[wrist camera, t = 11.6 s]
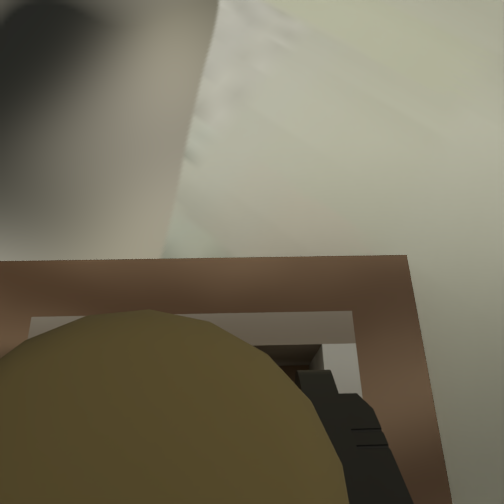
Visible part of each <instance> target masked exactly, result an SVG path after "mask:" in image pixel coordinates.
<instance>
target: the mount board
mask: <svg viewBox="0 0 504 504" xmlns="http://www.w3.org/2000/svg"><path fill="white" fill-rule="evenodd" d="M147 309H150V310H155V311H160V312H165V313H170V314H175V315H180V316H185V317H190V318H194V319H199V320H204V321H209V322H211V323H213V324H215V325H217V326H218V327H220V328H222V329H224V330H226V331H227V332H229V333H231V334H233V335H234V336H236V337H238V338H240V339H241V340H243V341H245V342H247V343H249V344H250V345H252V346H254V347H256V348H257V349H259V350H261V351H263V352H264V353H266V354H268V355H269V356H270V357H271V358H272V360H273V361H274V362H275V363H276V364H277V365H278V366H279V367H280V368H281V369H282V370H283V371H284V373H285V374H286V375H287V376H288V377H289V378H290V379H291V380H292V381H293V382H294V383H295V373H296V370H331V372H332V375H333V378H334V381H335V384H336V387H337V390H338V393H357V394H358V395H359V396H360V397H361V398H362V399H363V400H365V401H366V402H367V403H368V404H369V405H370V406H371V407H372V408H373V409H374V411H375V414H376V416H377V418H378V421H379V423H380V426H381V428H382V432H383V433H384V435H385V437H386V440H387V442H388V446H389V449H391V451H392V454H393V456H394V458H395V461H396V463H397V465H398V468H399V470H400V472H401V475H402V477H403V479H404V482H405V484H406V486H407V489H408V491H409V493H410V496H411V498H412V500H413V503H414V504H452V498H451V493H450V488H449V482H448V477H447V471H446V466H445V460H444V455H443V450H442V444H441V439H440V433H439V428H438V423H437V417H436V412H435V406H434V401H433V395H432V390H431V385H430V379H429V374H428V368H427V363H426V358H425V352H424V347H423V341H422V336H421V330H420V325H419V320H418V314H417V309H416V303H415V298H414V292H413V287H412V282H411V276H410V271H409V265H408V260H407V255H379V256H314V257H249V258H184V259H122V260H119V259H118V260H55V261H0V358H2V357H3V356H5V355H6V354H7V353H9V352H10V351H11V350H13V349H14V348H15V347H17V346H18V345H19V344H21V343H22V342H23V341H25V340H27V339H30V338H32V337H35V336H37V335H40V334H42V333H45V332H47V331H50V330H52V329H55V328H57V327H60V326H62V325H65V324H67V323H70V322H72V321H75V320H77V319H80V318H82V317H85V316H87V315H97V314H107V313H117V312H127V311H137V310H147Z"/></svg>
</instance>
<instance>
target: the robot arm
mask: <svg viewBox="0 0 504 504" xmlns="http://www.w3.org/2000/svg"><path fill="white" fill-rule="evenodd" d="M295 384H296V385H297V387H298V388H299V389H300V390H301V391H302V392H303V393H304V394H305V395H306V396H307V397H308V398H309V399H310V401H311V402H312V404H313V406H314V408H315V410H316V412H317V414H318V416H319V418H320V420H321V422H322V424H323V426H324V428H325V431H326V433H327V435H328V437H329V439H330V441H331V443H332V445H333V447H334V449H335V451H336V453H337V455H338V457H339V459H340V461H341V463H342V466H343V471H344V477H345V483H346V488H347V494H348V499H349V504H414V503H413V500H412V498H411V496H410V493H409V491H408V489H407V486H406V484H405V482H404V479H403V477H402V475H401V472H400V470H399V468H398V465H397V463H396V461H395V458H394V456H393V454H392V451H391V449H389V446H388V442H387V440H386V437H385V435H384V433H383V432H382V428H381V426H380V423H379V421H378V418H377V416H376V414H375V411H374V409H373V408H372V407H371V406H370V405H369V404H368V403H367V402H366V401H365V400H363V399H362V398H361V397H360V396H359V395H358V394H357V393H338V390H337V387H336V384H335V381H334V378H333V375H332V372H331V370H296V373H295Z"/></svg>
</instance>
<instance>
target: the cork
mask: <svg viewBox="0 0 504 504" xmlns="http://www.w3.org/2000/svg"><path fill="white" fill-rule="evenodd" d="M0 504H349V499H348V494H347V488H346V483H345V477H344V471H343V466H342V463H341V461H340V459H339V457H338V455H337V453H336V451H335V449H334V447H333V445H332V443H331V441H330V439H329V437H328V435H327V433H326V431H325V428H324V426H323V424H322V422H321V420H320V418H319V416H318V414H317V412H316V410H315V408H314V406H313V404H312V402H311V401H310V399H309V398H308V397H307V396H306V395H305V394H304V393H303V392H302V391H301V390H300V389H299V388H298V387H297V385H296V384H295V383H294V382H293V381H292V380H291V379H290V378H289V377H288V376H287V375H286V374H285V373H284V371H283V370H282V369H281V368H280V367H279V366H278V365H277V364H276V363H275V362H274V361H273V360H272V358H271V357H270V356H269V355H268V354H266V353H264V352H263V351H261V350H259V349H257V348H256V347H254V346H252V345H250V344H249V343H247V342H245V341H243V340H241V339H240V338H238V337H236V336H234V335H233V334H231V333H229V332H227V331H226V330H224V329H222V328H220V327H218V326H217V325H215V324H213V323H211V322H209V321H204V320H199V319H194V318H190V317H185V316H180V315H175V314H170V313H165V312H160V311H155V310H150V309H147V310H137V311H127V312H117V313H107V314H97V315H87V316H85V317H82V318H80V319H77V320H75V321H72V322H70V323H67V324H65V325H62V326H60V327H57V328H55V329H52V330H50V331H47V332H45V333H42V334H40V335H37V336H35V337H32V338H30V339H27V340H25V341H23V342H22V343H21V344H19V345H18V346H17V347H15V348H14V349H13V350H11V351H10V352H9V353H7V354H6V355H5V356H3V357H2V358H0Z"/></svg>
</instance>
